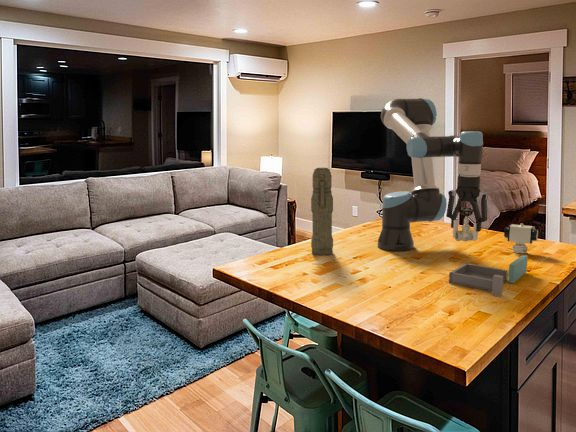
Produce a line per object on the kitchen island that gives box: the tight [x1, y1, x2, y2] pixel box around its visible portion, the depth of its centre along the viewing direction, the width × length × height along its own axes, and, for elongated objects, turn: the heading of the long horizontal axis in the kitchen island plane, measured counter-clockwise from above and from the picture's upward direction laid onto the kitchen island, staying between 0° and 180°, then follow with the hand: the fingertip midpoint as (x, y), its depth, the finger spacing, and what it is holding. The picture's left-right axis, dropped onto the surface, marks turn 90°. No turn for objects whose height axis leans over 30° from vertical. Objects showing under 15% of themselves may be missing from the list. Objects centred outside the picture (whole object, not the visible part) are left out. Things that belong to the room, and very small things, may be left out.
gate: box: [507, 254, 529, 284], centre depth 164 cm, size 2×15×6 cm, turn 140°
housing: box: [448, 262, 508, 297], centre depth 159 cm, size 17×17×6 cm
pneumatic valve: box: [503, 223, 539, 255], centre depth 196 cm, size 6×12×12 cm, turn 55°
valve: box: [454, 206, 474, 242], centre depth 176 cm, size 7×7×12 cm
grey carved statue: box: [310, 167, 334, 257], centre depth 197 cm, size 9×12×35 cm
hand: (465, 238), depth 177 cm, fingers closed on valve, 7 cm apart
